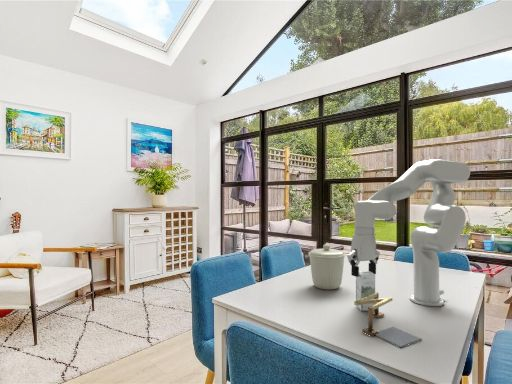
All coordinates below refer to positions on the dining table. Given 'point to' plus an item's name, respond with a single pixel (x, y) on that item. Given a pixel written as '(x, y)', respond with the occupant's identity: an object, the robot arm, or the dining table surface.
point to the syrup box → (365, 288)
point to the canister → (327, 267)
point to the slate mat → (397, 336)
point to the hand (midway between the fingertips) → (363, 274)
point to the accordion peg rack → (371, 313)
